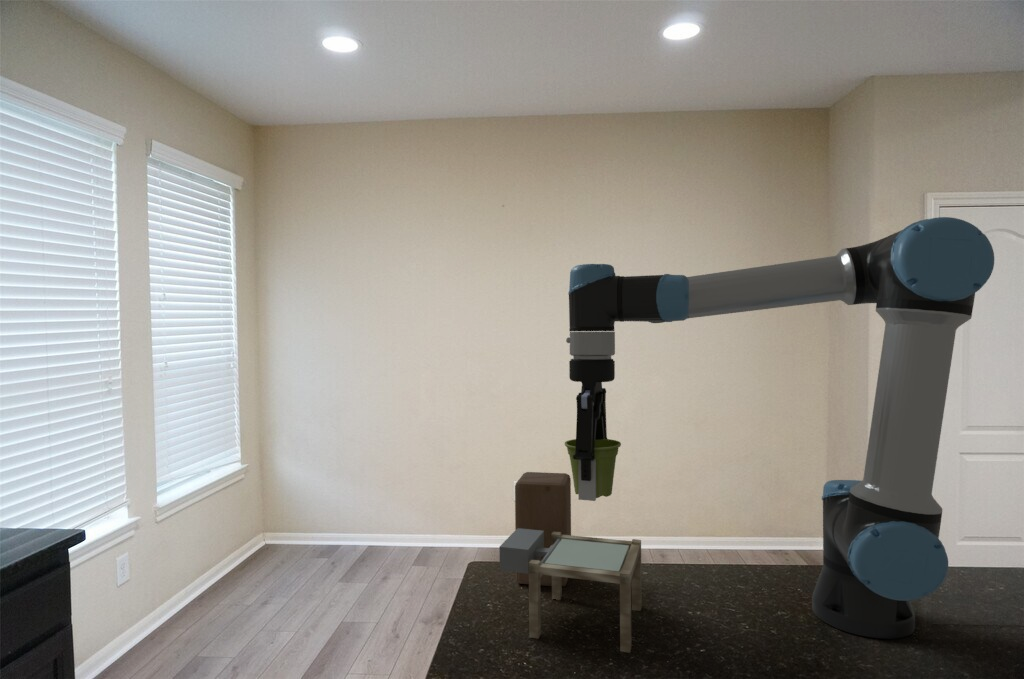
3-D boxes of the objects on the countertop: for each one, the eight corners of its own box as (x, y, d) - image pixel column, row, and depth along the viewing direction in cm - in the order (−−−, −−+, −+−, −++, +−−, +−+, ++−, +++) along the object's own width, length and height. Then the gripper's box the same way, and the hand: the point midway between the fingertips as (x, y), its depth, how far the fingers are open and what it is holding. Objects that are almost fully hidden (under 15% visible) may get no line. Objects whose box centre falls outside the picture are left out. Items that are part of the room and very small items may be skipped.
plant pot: (558, 499, 99) (557, 446, 99) (572, 485, 108) (572, 436, 108) (615, 504, 96) (615, 449, 96) (625, 489, 105) (625, 439, 105)
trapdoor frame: (641, 607, 108) (641, 539, 108) (630, 652, 93) (629, 574, 92) (553, 595, 113) (553, 531, 113) (529, 637, 98) (528, 562, 97)
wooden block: (566, 589, 116) (565, 484, 115) (514, 585, 118) (513, 482, 117) (571, 569, 125) (571, 472, 125) (524, 565, 127) (523, 470, 127)
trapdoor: (629, 559, 107) (628, 536, 106) (618, 587, 95) (618, 562, 95) (519, 547, 113) (519, 526, 113) (497, 573, 101) (497, 549, 101)
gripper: (582, 354, 113) (582, 476, 113) (554, 360, 93) (555, 508, 93) (623, 355, 111) (623, 479, 111) (603, 360, 91) (604, 512, 91)
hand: (592, 492), depth 102 cm, fingers closed on plant pot, 8 cm apart
